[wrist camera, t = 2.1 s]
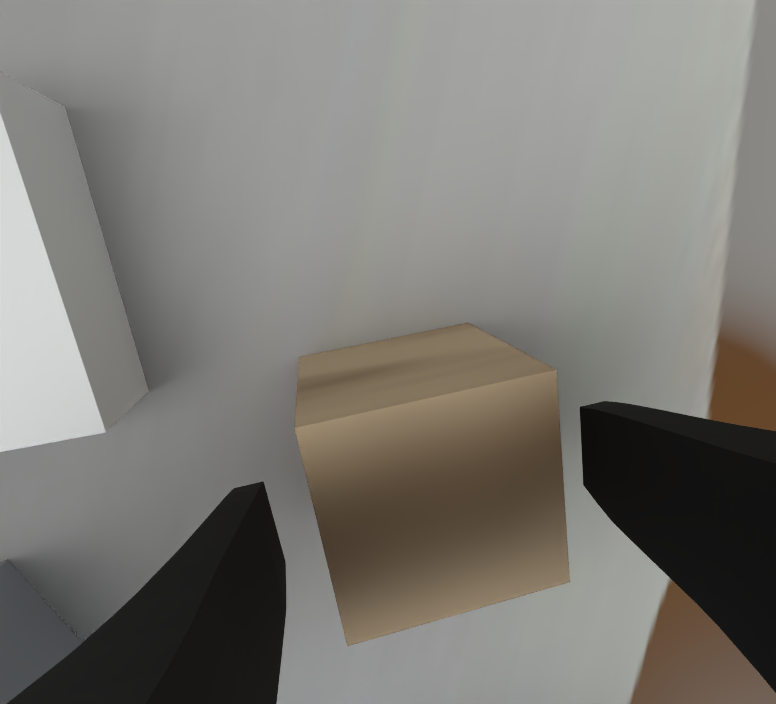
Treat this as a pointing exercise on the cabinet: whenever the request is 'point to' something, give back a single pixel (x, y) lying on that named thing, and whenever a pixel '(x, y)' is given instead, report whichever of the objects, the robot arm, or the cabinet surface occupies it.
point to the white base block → (55, 286)
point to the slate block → (27, 634)
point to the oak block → (432, 476)
